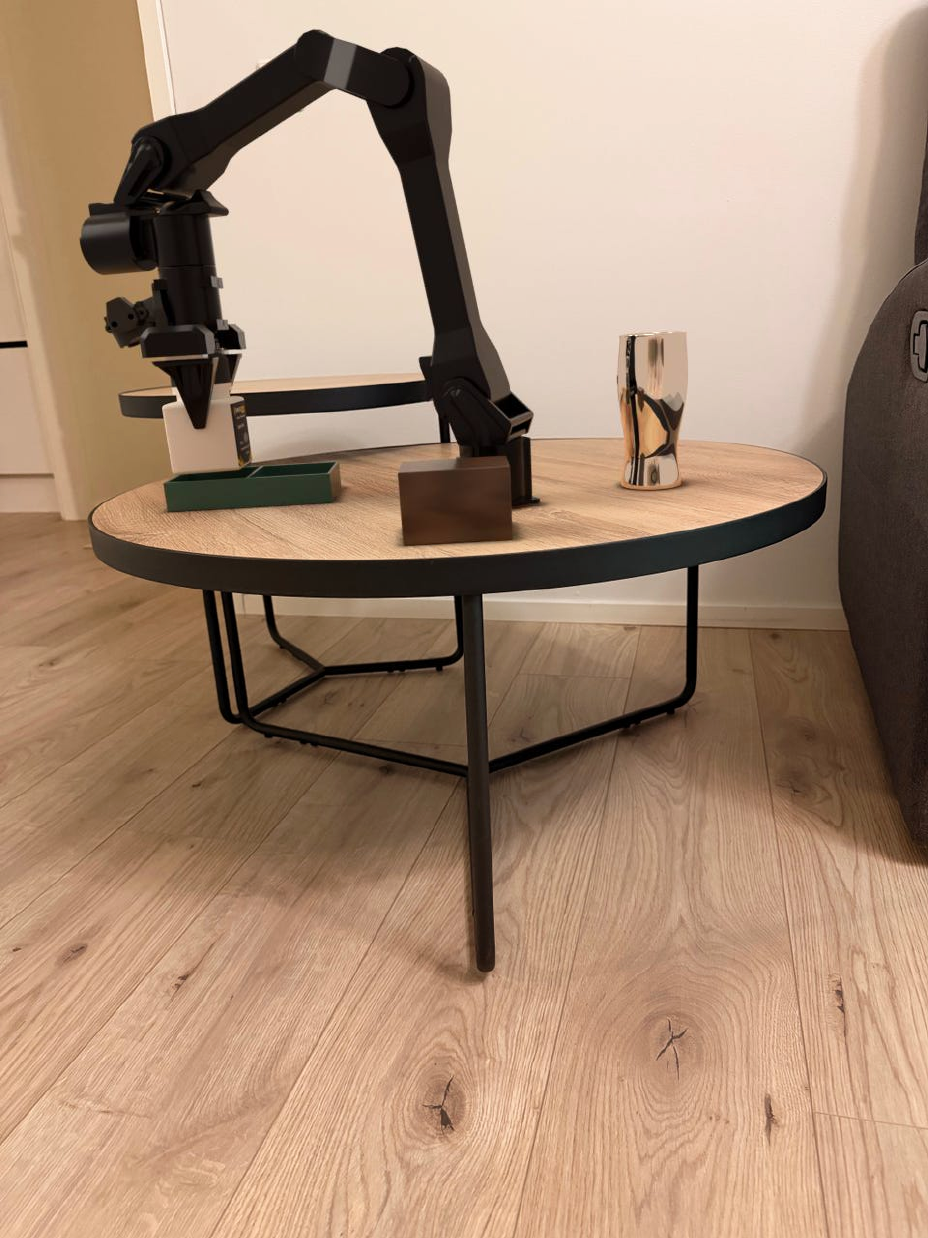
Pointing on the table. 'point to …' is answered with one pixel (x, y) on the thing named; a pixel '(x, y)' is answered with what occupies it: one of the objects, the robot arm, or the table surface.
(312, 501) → the divided tray
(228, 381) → the medicine bottle
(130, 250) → the robot arm
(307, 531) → the table surface
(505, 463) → the walnut stand
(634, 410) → the beer glass
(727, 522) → the table surface
